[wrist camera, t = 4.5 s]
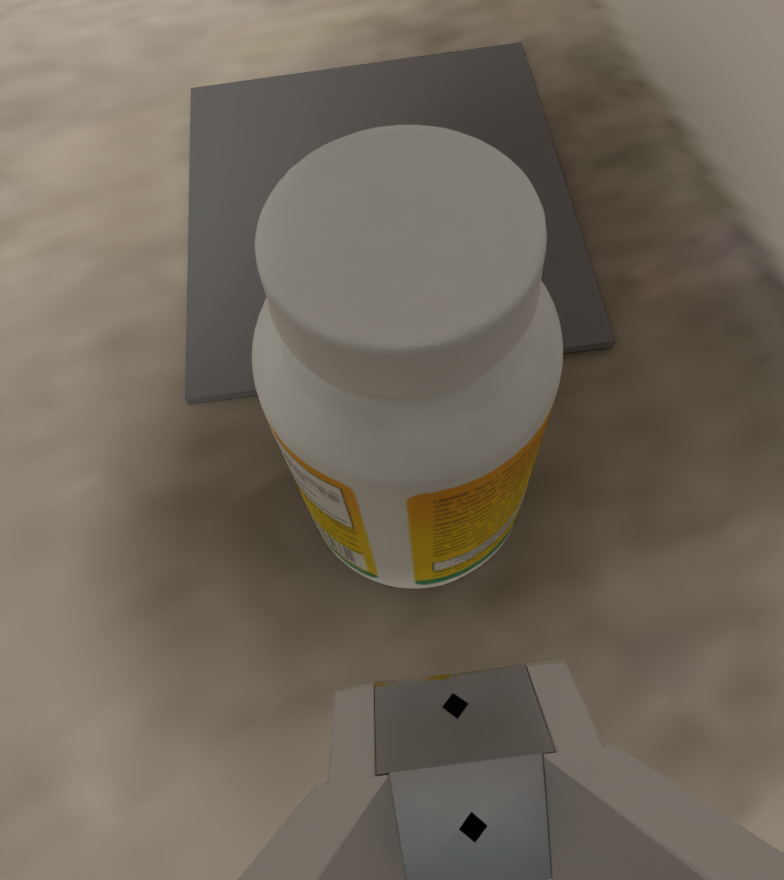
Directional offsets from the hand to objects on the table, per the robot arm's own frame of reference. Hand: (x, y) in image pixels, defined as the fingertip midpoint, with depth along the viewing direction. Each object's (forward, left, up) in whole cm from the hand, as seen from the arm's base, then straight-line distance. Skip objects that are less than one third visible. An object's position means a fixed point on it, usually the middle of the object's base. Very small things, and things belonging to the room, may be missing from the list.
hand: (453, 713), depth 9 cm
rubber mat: (0, +16, -7) cm, 17 cm away
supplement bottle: (0, +6, -7) cm, 9 cm away
